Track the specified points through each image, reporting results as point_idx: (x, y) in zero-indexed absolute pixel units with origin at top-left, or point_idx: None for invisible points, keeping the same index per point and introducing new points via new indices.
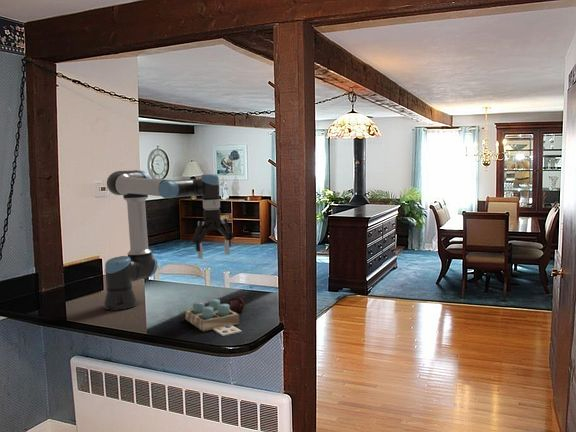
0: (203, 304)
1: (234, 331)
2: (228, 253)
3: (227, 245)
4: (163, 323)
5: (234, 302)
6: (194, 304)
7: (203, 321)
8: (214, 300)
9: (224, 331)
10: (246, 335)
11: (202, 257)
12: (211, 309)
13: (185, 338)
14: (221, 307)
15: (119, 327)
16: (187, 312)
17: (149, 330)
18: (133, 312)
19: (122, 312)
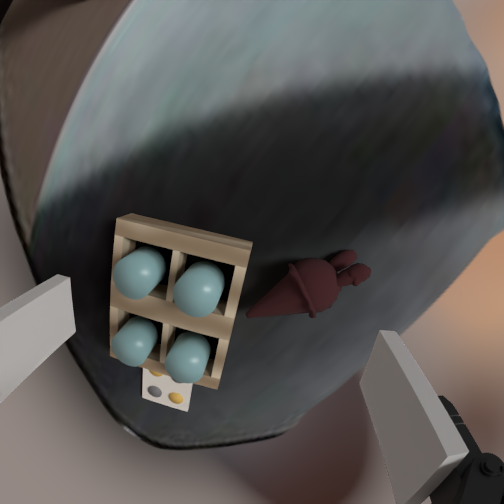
0: (142, 297)
1: (171, 404)
2: (366, 391)
3: (386, 453)
4: (74, 197)
5: (283, 309)
6: (114, 279)
7: (112, 356)
8: (195, 296)
9: (152, 391)
10: (184, 425)
11: (69, 336)
12: (133, 365)
13: (77, 342)
14: (169, 373)
15: (10, 147)
16: (115, 241)
17: (36, 226)
18: (83, 32)
19: (70, 18)
